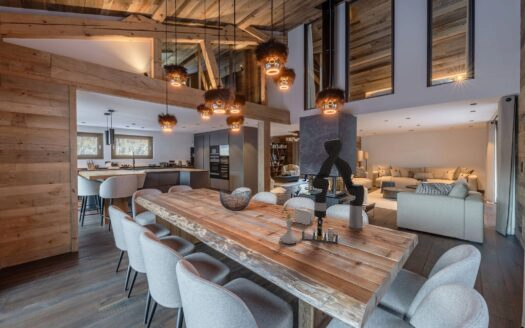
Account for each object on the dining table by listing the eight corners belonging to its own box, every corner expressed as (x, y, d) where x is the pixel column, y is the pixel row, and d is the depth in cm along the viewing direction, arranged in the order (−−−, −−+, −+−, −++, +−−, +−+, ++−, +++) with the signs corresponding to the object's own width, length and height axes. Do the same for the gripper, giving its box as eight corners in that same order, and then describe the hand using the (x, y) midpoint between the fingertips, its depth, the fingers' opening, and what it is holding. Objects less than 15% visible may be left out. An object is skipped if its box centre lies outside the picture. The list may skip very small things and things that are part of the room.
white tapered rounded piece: (285, 237, 152) (285, 200, 151) (300, 241, 146) (301, 202, 145) (274, 243, 142) (275, 203, 141) (291, 248, 135) (291, 206, 134)
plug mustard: (322, 237, 150) (322, 227, 149) (322, 239, 146) (322, 228, 146) (316, 237, 150) (317, 226, 150) (316, 239, 147) (316, 228, 147)
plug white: (333, 238, 148) (333, 228, 148) (333, 240, 144) (334, 229, 144) (327, 238, 149) (327, 227, 148) (327, 240, 145) (328, 229, 145)
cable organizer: (315, 223, 185) (316, 209, 184) (308, 226, 177) (308, 211, 177) (300, 219, 196) (300, 206, 195) (293, 222, 188) (293, 208, 188)
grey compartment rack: (337, 240, 148) (337, 231, 148) (337, 243, 143) (337, 234, 142) (302, 236, 154) (303, 228, 154) (302, 239, 148) (302, 231, 148)
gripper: (326, 212, 140) (325, 238, 140) (326, 207, 153) (325, 230, 154) (313, 211, 142) (313, 237, 142) (314, 206, 155) (314, 229, 156)
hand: (319, 233), depth 148 cm, fingers open, 8 cm apart
